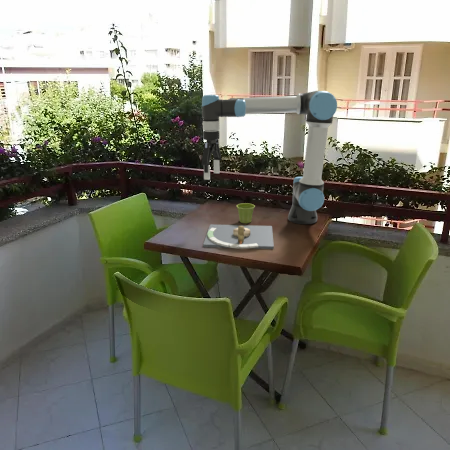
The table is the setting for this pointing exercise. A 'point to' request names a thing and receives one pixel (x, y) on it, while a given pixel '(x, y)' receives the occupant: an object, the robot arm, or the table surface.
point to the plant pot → (245, 212)
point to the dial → (241, 233)
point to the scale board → (224, 237)
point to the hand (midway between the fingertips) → (212, 176)
